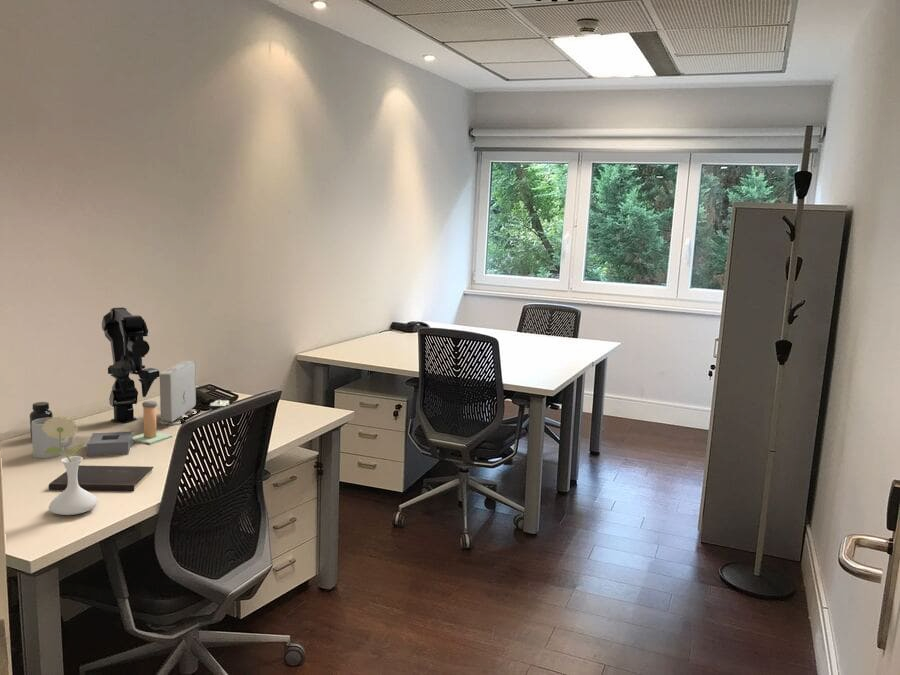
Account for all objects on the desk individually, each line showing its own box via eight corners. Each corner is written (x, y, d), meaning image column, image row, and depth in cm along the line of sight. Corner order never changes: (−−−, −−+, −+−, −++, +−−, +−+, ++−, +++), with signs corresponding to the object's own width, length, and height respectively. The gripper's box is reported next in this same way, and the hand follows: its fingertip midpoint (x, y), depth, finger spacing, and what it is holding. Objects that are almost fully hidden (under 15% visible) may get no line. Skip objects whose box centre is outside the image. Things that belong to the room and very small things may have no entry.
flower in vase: (106, 503, 193) (103, 412, 189) (83, 520, 182) (79, 424, 178) (58, 500, 193) (54, 409, 190) (32, 517, 182) (27, 421, 178)
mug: (27, 458, 225) (25, 423, 224) (41, 449, 234) (39, 416, 232) (67, 459, 226) (65, 424, 224) (79, 450, 234) (78, 417, 233)
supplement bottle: (25, 438, 244) (24, 404, 242) (43, 433, 250) (42, 400, 248) (40, 441, 241) (38, 406, 240) (58, 436, 248) (56, 402, 246)
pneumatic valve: (230, 428, 265) (230, 396, 264) (222, 437, 254) (222, 404, 252) (215, 427, 265) (214, 395, 263) (206, 437, 254) (205, 403, 252)
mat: (128, 440, 247) (128, 438, 247) (150, 432, 256) (150, 431, 256) (150, 444, 243) (150, 442, 243) (172, 436, 252) (172, 435, 252)
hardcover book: (74, 472, 216) (74, 465, 216) (153, 474, 218) (153, 466, 217) (48, 492, 200) (48, 484, 200) (134, 493, 202) (133, 485, 202)
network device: (177, 427, 263) (176, 373, 260) (153, 426, 263) (151, 372, 260) (201, 409, 289) (201, 360, 286) (179, 409, 289) (178, 359, 286)
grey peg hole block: (93, 444, 241) (93, 433, 240) (132, 442, 244) (132, 431, 244) (87, 456, 229) (86, 443, 229) (128, 453, 233) (128, 441, 232)
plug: (140, 438, 247) (140, 403, 245) (146, 434, 252) (145, 400, 250) (154, 438, 247) (153, 404, 246) (159, 435, 252) (159, 401, 250)
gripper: (94, 352, 249) (95, 396, 252) (135, 358, 242) (136, 403, 245) (120, 347, 259) (121, 390, 262) (160, 353, 252) (161, 396, 255)
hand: (134, 395), depth 255 cm, fingers open, 9 cm apart
